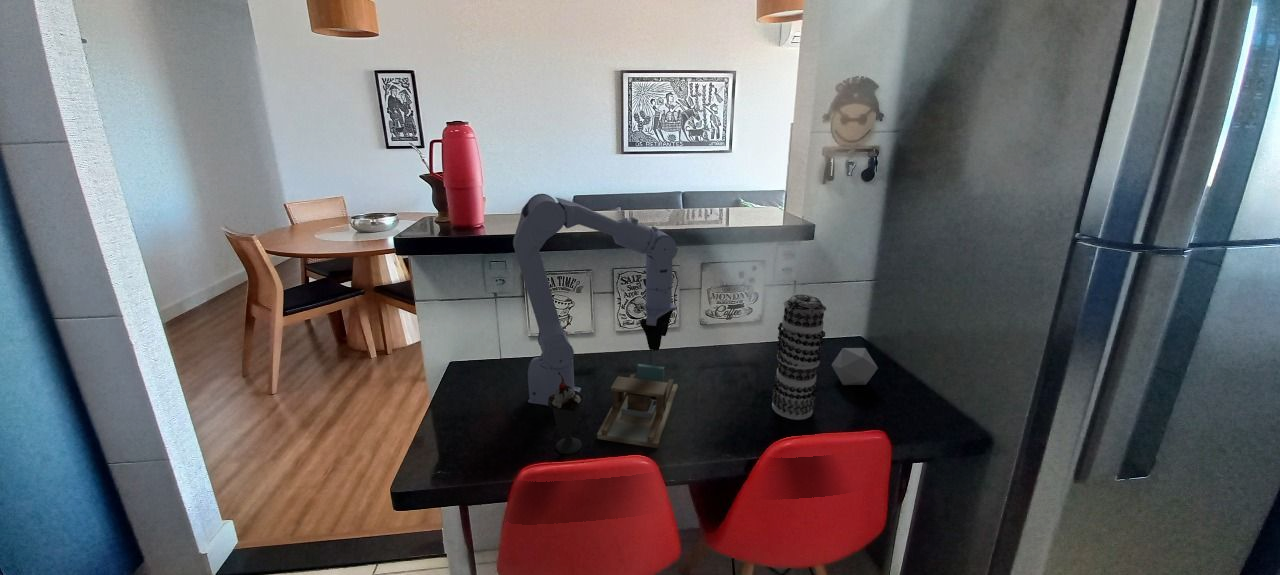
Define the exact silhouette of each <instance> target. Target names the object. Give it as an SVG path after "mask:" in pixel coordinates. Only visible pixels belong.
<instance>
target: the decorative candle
mask: <svg viewBox="0 0 1280 575" xmlns="http://www.w3.org/2000/svg"><path fill="white" fill-rule="evenodd" d="M783 307H784V311H783V316H782V318H781V320H782V321H781V322H779V324H778V327H777V329H778V335H777V339H778V341H777V342H776V345H777V351H776V357H777V360H778V365H777V366H778V367H777V368H776V374H775V376H774V378H773V380H774V383H773V386H774V388H773V389H772V397H771V400H772V403H771V408H772V410H773V411H774V412H775V413H776V414H777V415H779V416H781V417H782V418H786V419H788V420H789V419H790V420H795V421H800V420H806V419H808V418H810V417H812V415H813V413H814V411H813V410H814V407H815V400H816V397H815V394H816V393H817V389H816V388H817V386H818V383H817V373H816V372H817V369H818V368H817V367H818V366H819V365H820V363H821V359H822V355H821V354H822V353H823V347H822V345H824V343H825V339H824V337H826V331H824V324H825V323H824V317H825V311H826V310H827V307H826V305H824V304H823V303H822V301H821V300H820V298H818V297H817V296H813V295H810V294H795V295H792V296H791V297H790V298H789V299H788V300H785V301H784V302H783Z"/></svg>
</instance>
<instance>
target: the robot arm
mask: <svg viewBox="0 0 1280 575" xmlns="http://www.w3.org/2000/svg"><path fill="white" fill-rule="evenodd" d="M555 199H556V200H557V201H556V200H555ZM578 225H580V226H582V227H585V228H588V229H591V230H593V231H598V232H600V233H603V234H606V235H609V236H611V237H612V238H613V241H614V243H615V244H616V245H619V246H620V247H624V248H626V249H629V250H631V251H635V252H637V253H640V254H641V255H642V254H643V255H644V254H646V257H645V258H646V262H645V264H646V265H645V303H644V310H645V313H646V318H641V319H640V322H639V323H640V327H641V329H642V330H643V331H644V335H645V337H646V342H647V345H648V350H650V351H657V352H658V351H659V350H660V347H661V344H662V337H666V335H667V332H668V330H669V324H670V321H671V318H672V314H673V312H674V311H676V310H677V307H678V306H677V304H673V303H672V296H673V294H672V293H673V292H672V291H673V289H672V288H673V261H674V258H675V257H676V255H677V254H678V250H679V249H678V247H677V244H676V243H677V242H676V240H674V238H673V237H672V236H670V235H668V234H667V233H665V232H664V231H662V230H660V229H659V228H658V227H656V226H654V225H653V226H651V227H650V226H647V225H645V224H642V223H640V222H639V219H638V218H635V217H633V216H631V217H630V218H628V217H624V218H621V219H619V220H615V219H613V218H611V217H608V216H606V215H604V214H601V213H600V212H598V211H594V210H592V209H590V208H587V207H586V206H582V205H581V204H579V203H576V202H574V201H570V200H566V199H564V198H560V197H557V196H556V197H555V198H554V197H552V196H551V195H549V194H546V193H538V194H534V195H533V196H532V197H530V198H529V199H528V201H527V202H526V203H525V205H524V206H523V207H522V209H521V212H520V217H519V221H518V224H517V227H516V231H515V234H514V236H513V240H512V246H513V248H514V253H515V255H516V259H517V261H518V266H519V269H520V271H521V276H522V278H523V281H524V285H525V288H526V291H527V294H528V297H529V302H530V304H531V307H532V311H533V314H534V318H535V320H536V324H537V327H538V335H537V342H538V345H539V348H540V350H541V354H540V357H538V356H537V357H533V358H532V359H531V361H530V362H529V365H528V370H527V383H528V384H527V385H528V395H529V396H528V397H529V399H528V400H527V403H529V404H534V405H541V406H548V398H549V397H550V396H551V395H553V394H555V393H556V391H557V390H558V389H559V385H560V383H562V377H563V379H564V383H566V386H569V387H571V388H572V389H573V390H574V391H577V392H579V393H581V391H582V388H581V387H578V386H575V376H574V375H575V371H574V357H575V356H574V354H575V351H574V348H573V346H572V345H571V343H570V341H569V338H568V337H567V333H566V332H567V331H566V330H565V329H564V328H563V327H562V325H561V321H560V318H559V314H558V310H557V308H556V304H555V300H554V298H553V295H552V294H553V293H552V290H551V286H550V283H549V280H548V276H547V273H546V269H545V267H544V263H543V262H544V261H543V259H542V255H541V253H540V252H541V251H540V250H541V249H542V248H543V246H544V244H546V242H547V240H548V239H550V238H551V237H552V236H554V235H556V234H557V233H558V232H559V231H560V230H562V228H563V227H565V229H570V228H572V227H576V226H578ZM558 372H560V375H561V376H562V377H561V376H560V375H559V374H558Z"/></svg>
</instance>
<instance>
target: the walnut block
mask: <svg viewBox="0 0 1280 575" xmlns="http://www.w3.org/2000/svg"><path fill="white" fill-rule="evenodd" d="M650 405H651V396H649V395H641V394H634V393H628V409H630V410H637V411H644V412H648V410H649V407H650Z"/></svg>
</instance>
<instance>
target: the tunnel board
mask: <svg viewBox="0 0 1280 575" xmlns="http://www.w3.org/2000/svg"><path fill="white" fill-rule="evenodd" d="M678 387H679V384H677V383H674V379H673V378H669V379H668V381H667V382H666V381H664V382H659V381H651V380H643V379H637V378H636V374H633V373H631V374H630V375H629V377H625V376H618V375H617V377H616V378H615V380H614V382H613V384H612V385H611V387H610V391H611V407H610V409H609V410H608V413H607V415H606V417H605V418H604V420H603V422H602V424H601V426H600V427H599V430H598V432H597V433H596V439H597V440H603V441H610V442H615V443H621V444H629V445H636V446H642V447H648V448H654V449H659V447H660V443H661V440H662V436H663V435H664V434H663V433H664V431H665V428H666V425H667V423H668V418H669V416H670V413H671V410H672V407H673V403H674V402H675V398H676V394H677V392H678ZM628 393H634V394H641V395H649V396H651V399H652V400H656V409H655V412H654V415H653V417H652V419H649V418H642V417H636V416H629V415H622V414H621V409H622V408H624V406H625V404H626V402H627V400H628Z"/></svg>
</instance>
